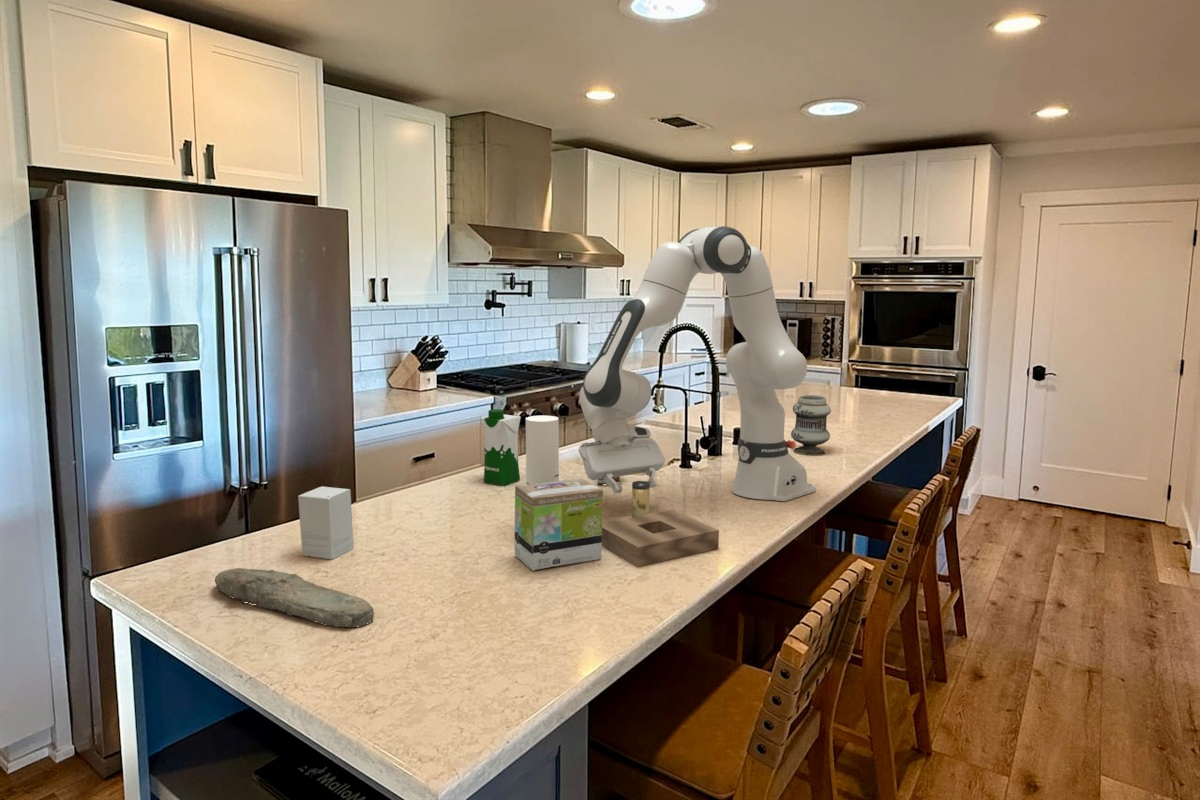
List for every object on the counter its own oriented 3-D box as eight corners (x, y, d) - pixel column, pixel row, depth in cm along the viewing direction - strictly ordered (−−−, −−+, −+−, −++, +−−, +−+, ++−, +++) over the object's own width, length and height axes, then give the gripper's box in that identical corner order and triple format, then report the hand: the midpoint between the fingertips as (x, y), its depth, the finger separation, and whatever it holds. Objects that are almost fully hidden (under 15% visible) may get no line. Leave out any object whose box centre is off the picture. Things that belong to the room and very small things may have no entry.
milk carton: (478, 482, 205) (477, 410, 202) (500, 475, 213) (499, 405, 210) (504, 487, 201) (502, 413, 198) (525, 480, 208) (524, 408, 205)
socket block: (672, 526, 170) (672, 509, 170) (718, 548, 157) (719, 530, 156) (595, 542, 160) (595, 523, 159) (637, 566, 147) (637, 547, 146)
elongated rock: (344, 648, 117) (389, 625, 126) (345, 615, 117) (390, 595, 126) (196, 593, 133) (245, 576, 142) (196, 564, 132) (245, 549, 141)
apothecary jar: (791, 455, 239) (794, 399, 236) (788, 447, 251) (791, 393, 248) (831, 457, 237) (834, 400, 234) (826, 448, 249) (829, 394, 246)
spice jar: (642, 517, 177) (643, 479, 175) (652, 522, 173) (653, 484, 172) (628, 520, 175) (628, 482, 173) (638, 524, 171) (638, 486, 170)
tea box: (533, 573, 143) (532, 497, 141) (513, 556, 152) (512, 484, 150) (603, 560, 150) (603, 487, 148) (581, 544, 159) (581, 475, 157)
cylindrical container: (564, 526, 170) (564, 417, 166) (549, 536, 163) (548, 422, 159) (536, 522, 173) (536, 414, 169) (520, 531, 166) (519, 419, 162)
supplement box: (355, 548, 156) (352, 488, 154) (331, 560, 149) (327, 498, 147) (325, 543, 158) (322, 485, 156) (300, 556, 151) (296, 494, 149)
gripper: (581, 436, 174) (602, 488, 167) (654, 428, 184) (677, 476, 177) (571, 451, 178) (592, 502, 171) (644, 442, 189) (665, 490, 182)
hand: (636, 489), depth 174 cm, fingers open, 8 cm apart
